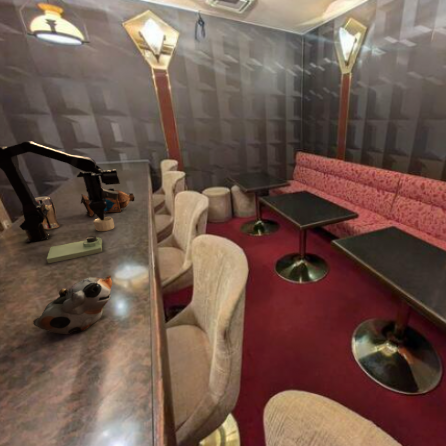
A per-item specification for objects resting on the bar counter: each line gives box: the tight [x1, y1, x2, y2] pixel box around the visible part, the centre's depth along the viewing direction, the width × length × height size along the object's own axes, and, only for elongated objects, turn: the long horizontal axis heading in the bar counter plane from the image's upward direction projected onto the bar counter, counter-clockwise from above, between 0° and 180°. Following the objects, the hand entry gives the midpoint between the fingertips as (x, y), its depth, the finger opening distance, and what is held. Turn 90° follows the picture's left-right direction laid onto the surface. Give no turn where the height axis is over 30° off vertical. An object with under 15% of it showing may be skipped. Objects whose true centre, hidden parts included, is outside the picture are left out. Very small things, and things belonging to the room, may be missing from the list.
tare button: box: [86, 235, 97, 243], centre depth 102 cm, size 3×3×2 cm
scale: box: [46, 237, 103, 264], centre depth 100 cm, size 16×12×4 cm
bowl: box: [93, 216, 116, 232], centre depth 121 cm, size 7×7×5 cm
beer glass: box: [34, 195, 61, 231], centre depth 119 cm, size 7×7×15 cm
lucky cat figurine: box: [32, 275, 113, 335], centre depth 65 cm, size 15×12×14 cm
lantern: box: [80, 188, 136, 218], centre depth 145 cm, size 16×16×25 cm
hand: (102, 217), depth 120 cm, fingers open, 9 cm apart
